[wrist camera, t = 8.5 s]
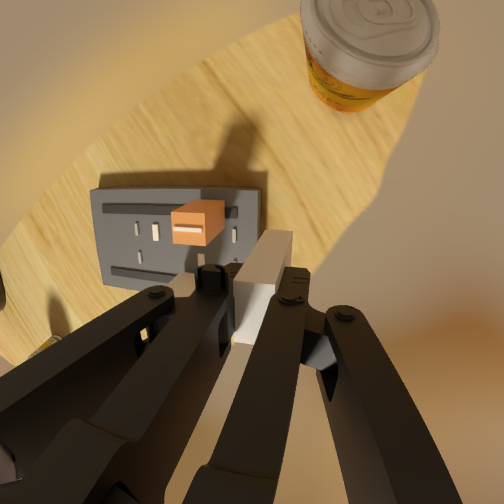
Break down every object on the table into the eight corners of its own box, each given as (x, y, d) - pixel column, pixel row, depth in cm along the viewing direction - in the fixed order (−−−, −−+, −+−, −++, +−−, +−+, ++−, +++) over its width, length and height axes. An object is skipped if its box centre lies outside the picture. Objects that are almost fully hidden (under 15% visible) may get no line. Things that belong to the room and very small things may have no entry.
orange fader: (196, 226, 26) (171, 244, 22) (195, 199, 25) (169, 212, 21) (224, 227, 26) (204, 247, 21) (224, 200, 25) (203, 213, 20)
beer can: (299, 57, 21) (276, -34, 8) (365, 43, 20) (410, -49, 6) (321, 120, 23) (330, 89, 9) (388, 106, 21) (469, 69, 8)
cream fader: (182, 293, 29) (159, 320, 25) (180, 271, 28) (156, 295, 24) (207, 297, 29) (187, 325, 24) (205, 274, 28) (184, 300, 23)
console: (110, 279, 33) (102, 285, 32) (98, 187, 29) (88, 190, 28) (258, 299, 30) (255, 308, 28) (261, 188, 26) (257, 191, 25)
